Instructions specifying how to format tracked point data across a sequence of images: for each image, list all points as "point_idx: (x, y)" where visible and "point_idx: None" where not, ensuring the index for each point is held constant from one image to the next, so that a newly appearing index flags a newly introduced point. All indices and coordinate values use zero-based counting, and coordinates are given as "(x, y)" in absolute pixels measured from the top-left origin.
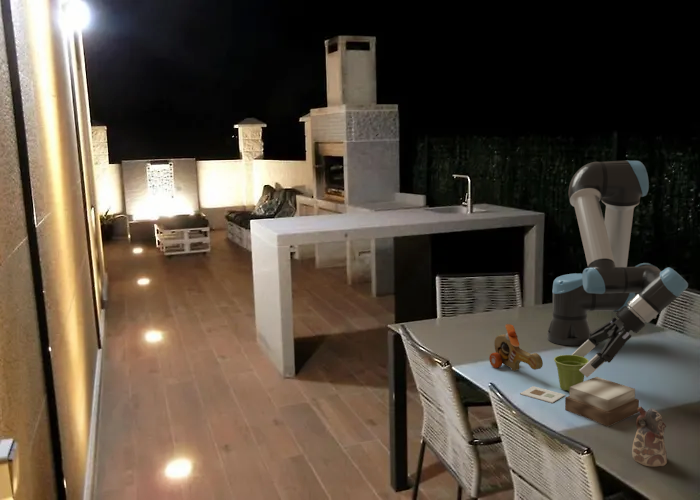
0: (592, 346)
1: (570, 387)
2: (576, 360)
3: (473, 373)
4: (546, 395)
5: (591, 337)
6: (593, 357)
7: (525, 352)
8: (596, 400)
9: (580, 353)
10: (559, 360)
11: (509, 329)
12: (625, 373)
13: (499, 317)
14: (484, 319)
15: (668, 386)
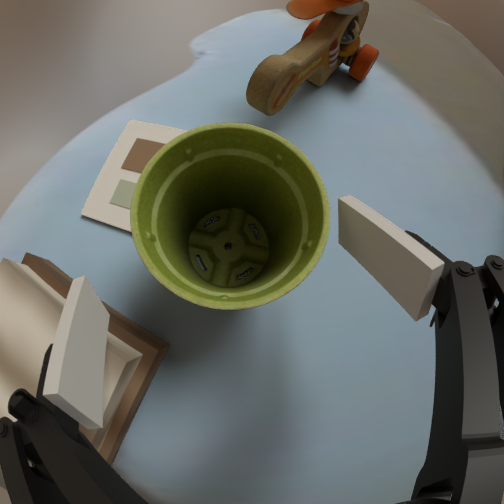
0: (409, 302)
1: (2, 261)
2: (309, 230)
3: (247, 26)
4: (123, 185)
5: (458, 285)
6: (61, 362)
7: (308, 48)
8: None
9: (360, 238)
10: (266, 152)
11: None
12: (428, 384)
13: None
14: (494, 74)
15: (356, 500)
